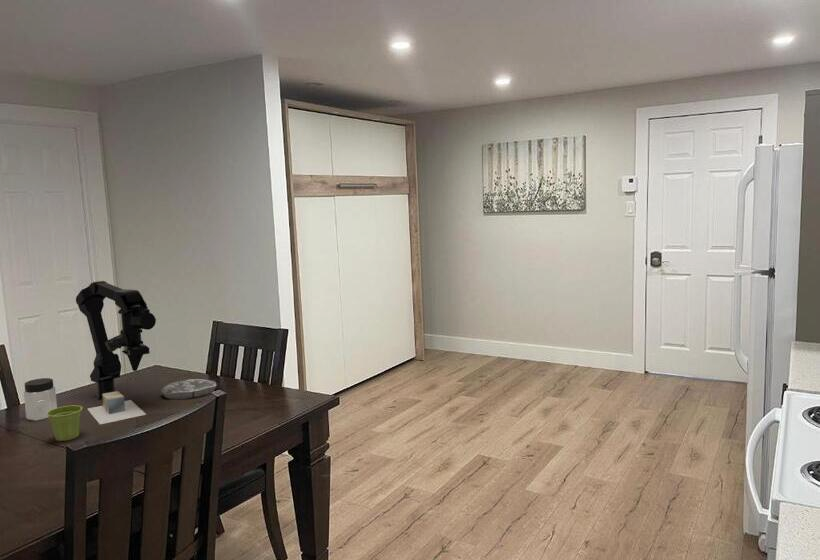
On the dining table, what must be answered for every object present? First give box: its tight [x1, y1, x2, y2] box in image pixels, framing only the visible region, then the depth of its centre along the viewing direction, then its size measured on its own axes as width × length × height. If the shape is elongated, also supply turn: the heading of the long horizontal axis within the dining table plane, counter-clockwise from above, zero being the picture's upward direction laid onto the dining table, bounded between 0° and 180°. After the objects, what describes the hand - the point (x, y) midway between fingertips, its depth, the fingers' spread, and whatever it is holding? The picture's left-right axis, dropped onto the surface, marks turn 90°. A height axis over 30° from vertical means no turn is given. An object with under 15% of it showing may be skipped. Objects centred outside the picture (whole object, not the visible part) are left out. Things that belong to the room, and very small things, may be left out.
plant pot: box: [46, 405, 83, 442], centre depth 183 cm, size 9×9×9 cm
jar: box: [23, 377, 58, 422], centre depth 202 cm, size 9×8×12 cm
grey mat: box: [87, 399, 147, 425], centre depth 205 cm, size 20×14×1 cm
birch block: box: [102, 390, 125, 414], centre depth 207 cm, size 5×5×8 cm
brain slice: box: [160, 378, 217, 400], centre depth 226 cm, size 20×17×3 cm
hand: (134, 370), depth 213 cm, fingers closed
